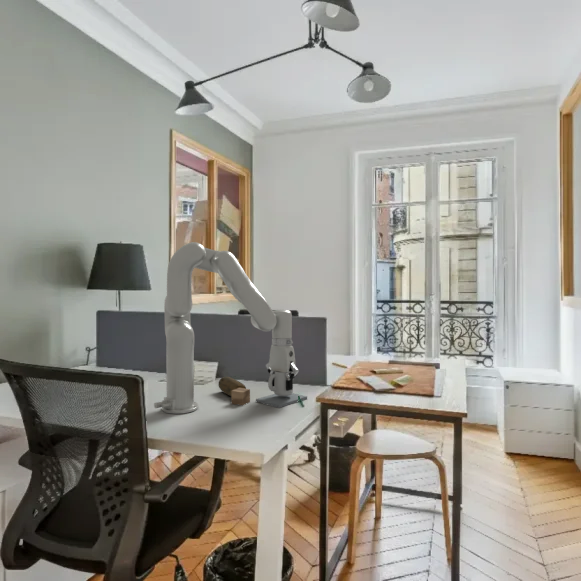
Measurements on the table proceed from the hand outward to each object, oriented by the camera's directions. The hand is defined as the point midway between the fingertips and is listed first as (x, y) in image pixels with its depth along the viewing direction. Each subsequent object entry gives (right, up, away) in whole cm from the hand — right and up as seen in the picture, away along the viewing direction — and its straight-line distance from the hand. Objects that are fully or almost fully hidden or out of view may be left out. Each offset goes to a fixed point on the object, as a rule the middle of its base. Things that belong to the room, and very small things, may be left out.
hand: (281, 387), depth 176 cm
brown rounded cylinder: (-20, -5, +8) cm, 22 cm away
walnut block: (-15, -5, -3) cm, 16 cm away
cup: (-1, -3, 0) cm, 3 cm away
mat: (0, -5, 0) cm, 5 cm away
